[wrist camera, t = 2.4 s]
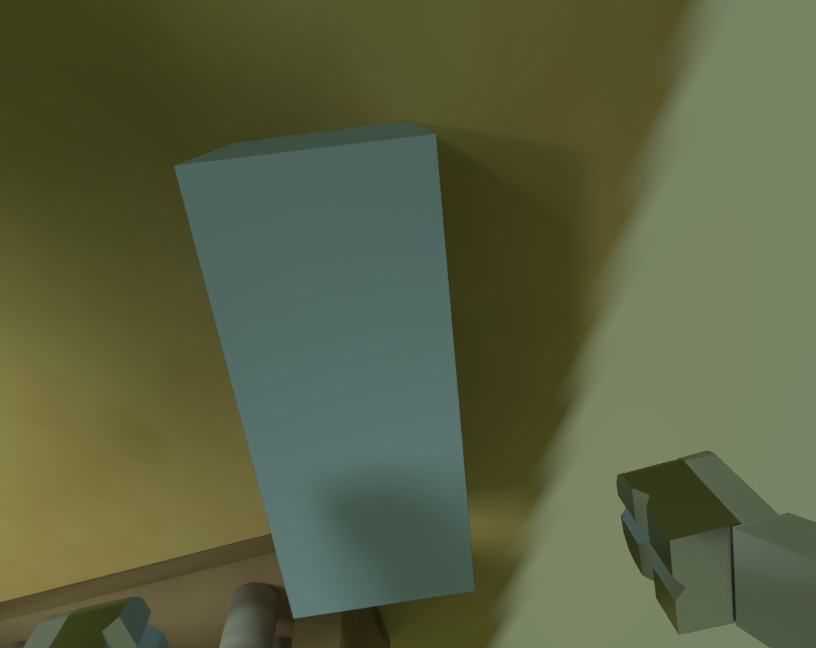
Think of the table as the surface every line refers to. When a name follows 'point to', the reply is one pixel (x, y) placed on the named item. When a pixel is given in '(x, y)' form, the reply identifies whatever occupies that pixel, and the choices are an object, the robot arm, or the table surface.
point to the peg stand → (206, 604)
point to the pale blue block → (340, 356)
